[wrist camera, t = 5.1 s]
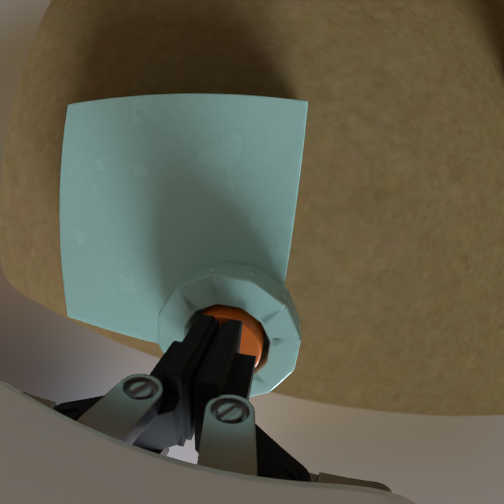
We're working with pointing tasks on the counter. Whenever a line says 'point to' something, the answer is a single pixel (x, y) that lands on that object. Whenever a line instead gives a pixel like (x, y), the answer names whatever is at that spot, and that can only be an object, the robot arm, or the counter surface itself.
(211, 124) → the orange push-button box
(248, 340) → the button
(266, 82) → the counter surface
